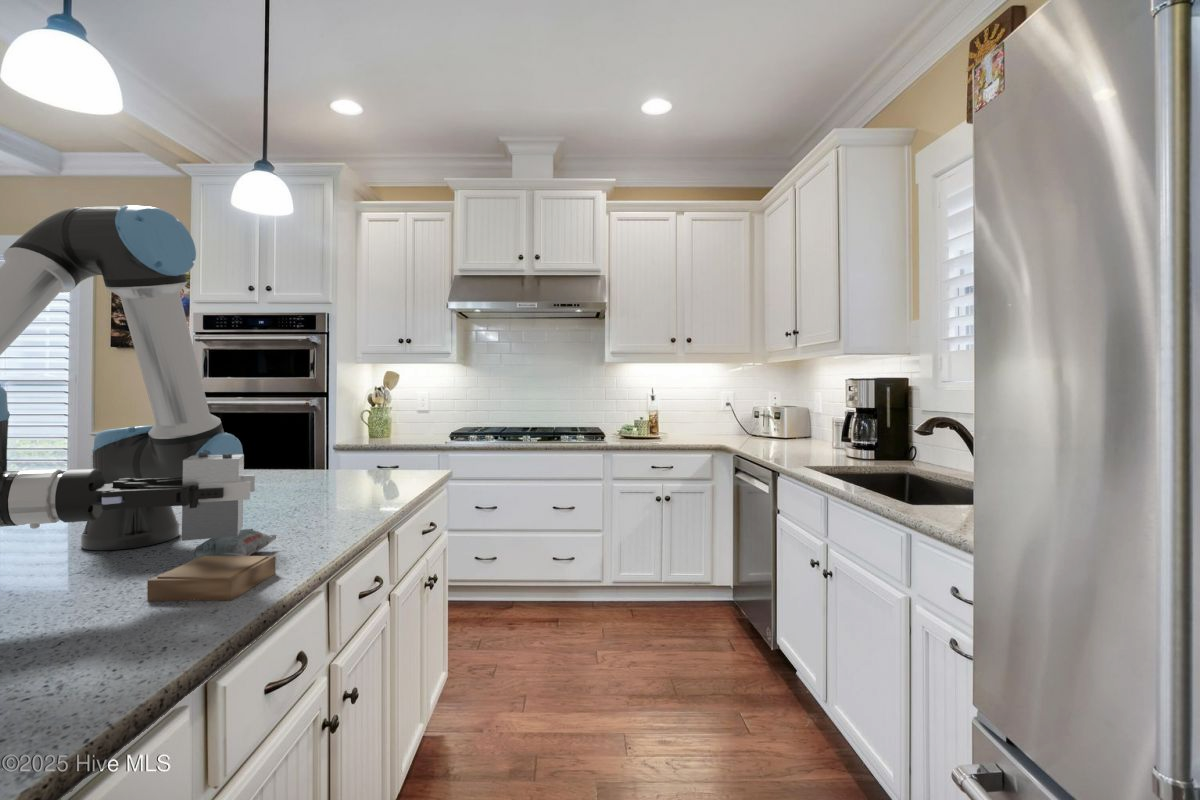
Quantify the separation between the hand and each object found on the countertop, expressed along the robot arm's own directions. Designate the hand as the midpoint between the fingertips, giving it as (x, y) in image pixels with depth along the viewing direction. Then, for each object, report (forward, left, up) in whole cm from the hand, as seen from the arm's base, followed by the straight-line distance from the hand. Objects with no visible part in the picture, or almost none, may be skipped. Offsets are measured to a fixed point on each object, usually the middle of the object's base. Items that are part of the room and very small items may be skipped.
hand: (252, 486), depth 89 cm
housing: (+2, -5, -7) cm, 9 cm away
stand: (+2, -4, -16) cm, 16 cm away
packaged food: (-13, -10, -16) cm, 23 cm away
